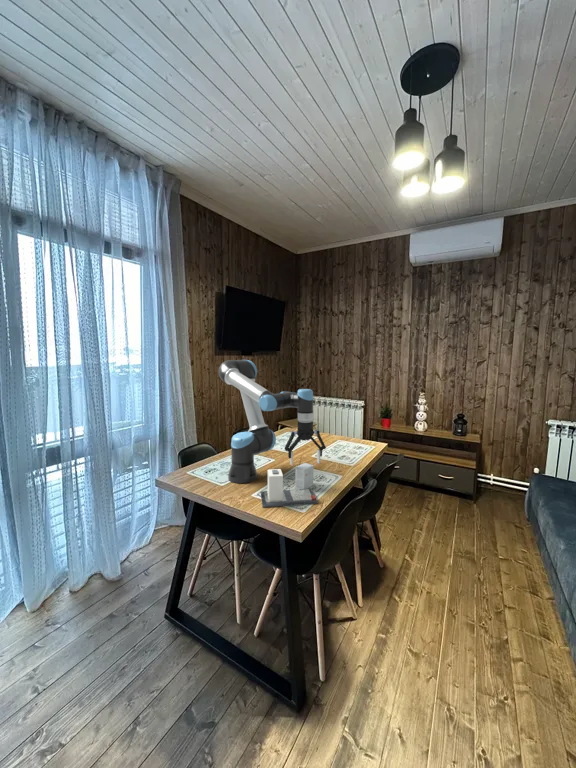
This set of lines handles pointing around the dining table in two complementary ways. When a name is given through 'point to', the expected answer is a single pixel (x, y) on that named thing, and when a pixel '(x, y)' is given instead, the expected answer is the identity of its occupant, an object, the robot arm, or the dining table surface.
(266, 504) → the strip board
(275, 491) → the twin plug
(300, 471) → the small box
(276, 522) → the dining table surface
